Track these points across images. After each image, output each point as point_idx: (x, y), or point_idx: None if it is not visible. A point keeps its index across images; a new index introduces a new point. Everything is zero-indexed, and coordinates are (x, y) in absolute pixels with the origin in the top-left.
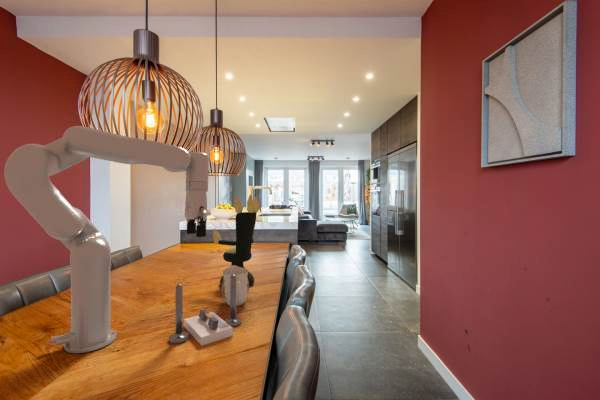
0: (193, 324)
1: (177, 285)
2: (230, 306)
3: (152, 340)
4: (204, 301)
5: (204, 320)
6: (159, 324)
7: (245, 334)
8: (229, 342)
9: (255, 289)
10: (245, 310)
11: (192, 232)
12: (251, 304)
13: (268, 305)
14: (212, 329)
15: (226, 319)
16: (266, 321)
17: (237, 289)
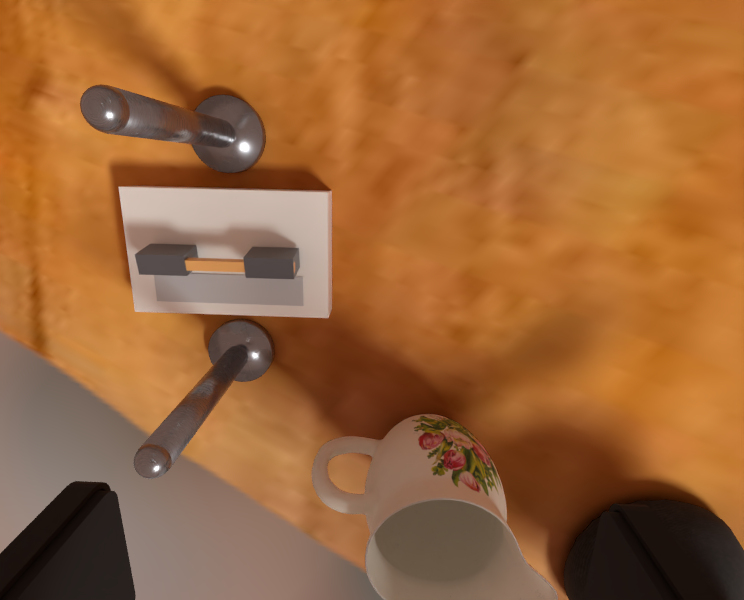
0: (249, 204)
1: (88, 93)
2: (217, 367)
3: (282, 44)
4: (539, 358)
5: None
6: (419, 111)
7: (137, 340)
8: (110, 272)
9: None
10: (327, 437)
11: (596, 595)
12: None
13: (316, 520)
14: None
15: (264, 338)
16: (191, 441)
17: (368, 478)
